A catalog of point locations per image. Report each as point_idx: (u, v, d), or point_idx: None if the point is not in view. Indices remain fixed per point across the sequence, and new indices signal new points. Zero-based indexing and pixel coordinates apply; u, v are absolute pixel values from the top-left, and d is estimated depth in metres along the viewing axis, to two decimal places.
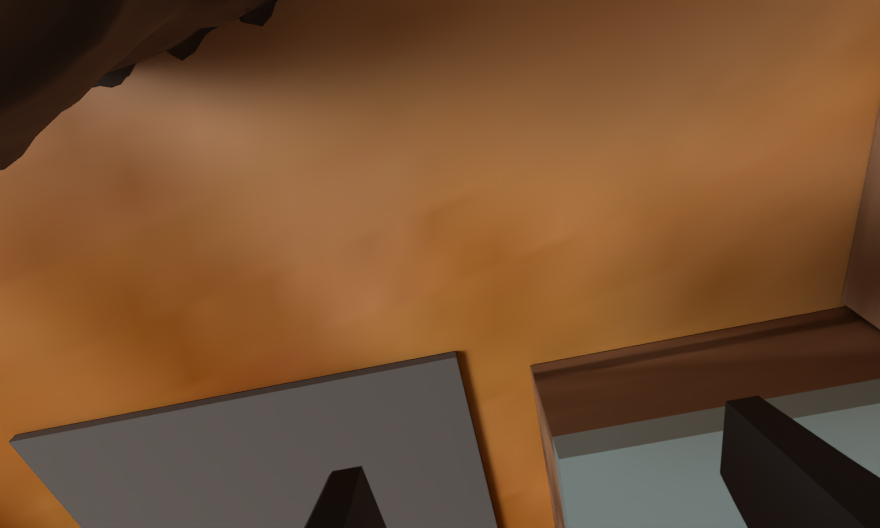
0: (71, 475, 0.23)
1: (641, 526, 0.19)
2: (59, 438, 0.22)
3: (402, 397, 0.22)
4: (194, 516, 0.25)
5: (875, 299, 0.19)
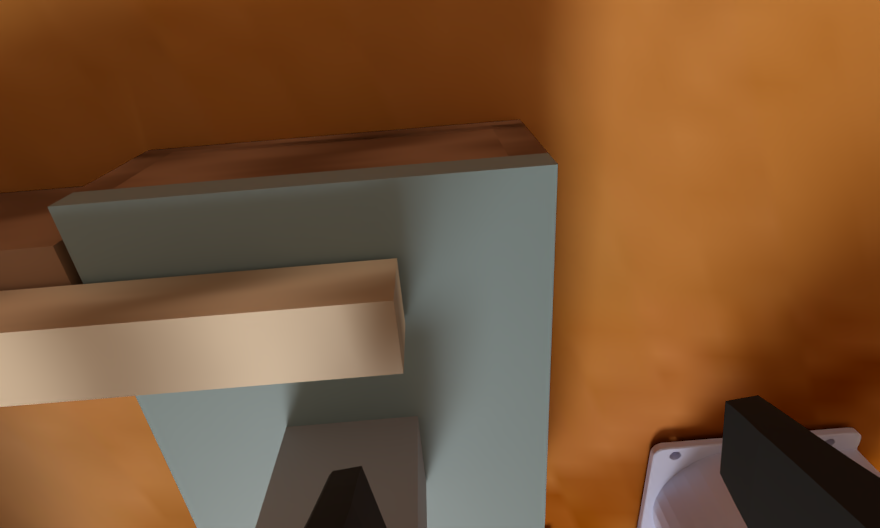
0: None
1: None
2: None
3: None
4: None
5: None
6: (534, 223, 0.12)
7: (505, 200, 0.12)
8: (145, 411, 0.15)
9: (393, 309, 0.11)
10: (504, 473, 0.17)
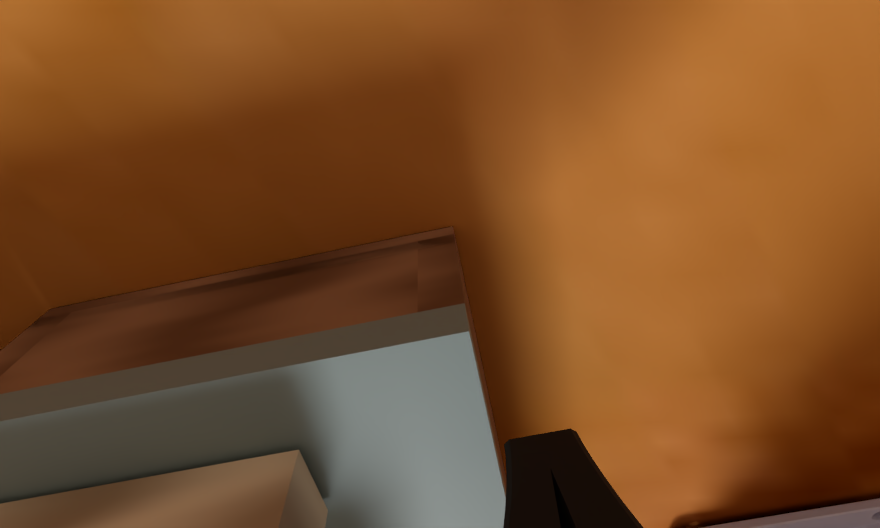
0: None
1: None
2: None
3: None
4: None
5: None
6: (456, 393, 0.10)
7: (414, 374, 0.10)
8: None
9: None
10: None
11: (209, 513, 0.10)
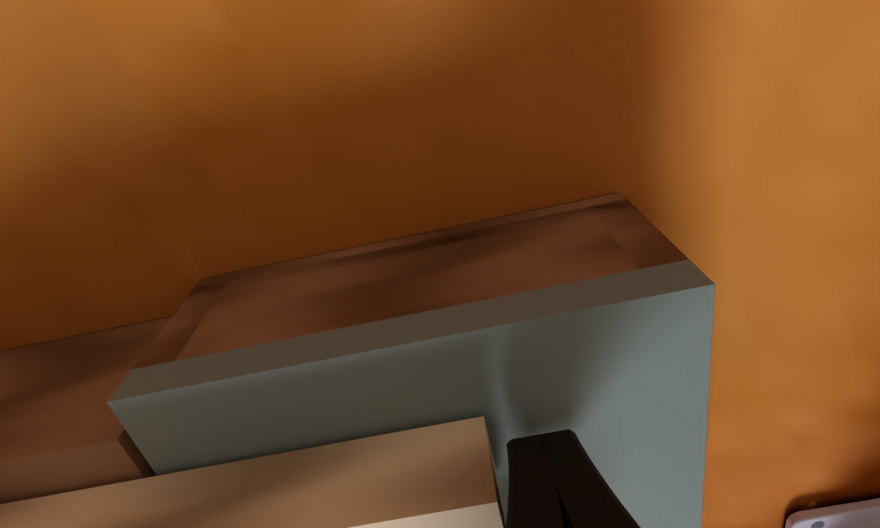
0: None
1: None
2: None
3: None
4: None
5: None
6: (684, 351, 0.10)
7: (647, 331, 0.10)
8: None
9: (498, 511, 0.09)
10: None
11: (411, 478, 0.09)
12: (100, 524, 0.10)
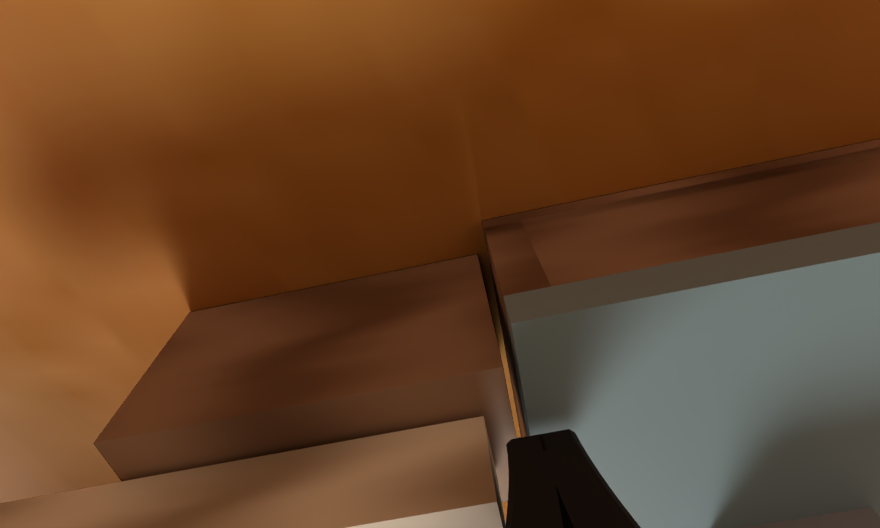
0: None
1: None
2: None
3: None
4: None
5: None
6: None
7: None
8: None
9: (497, 510, 0.09)
10: None
11: (411, 477, 0.09)
12: (99, 523, 0.10)
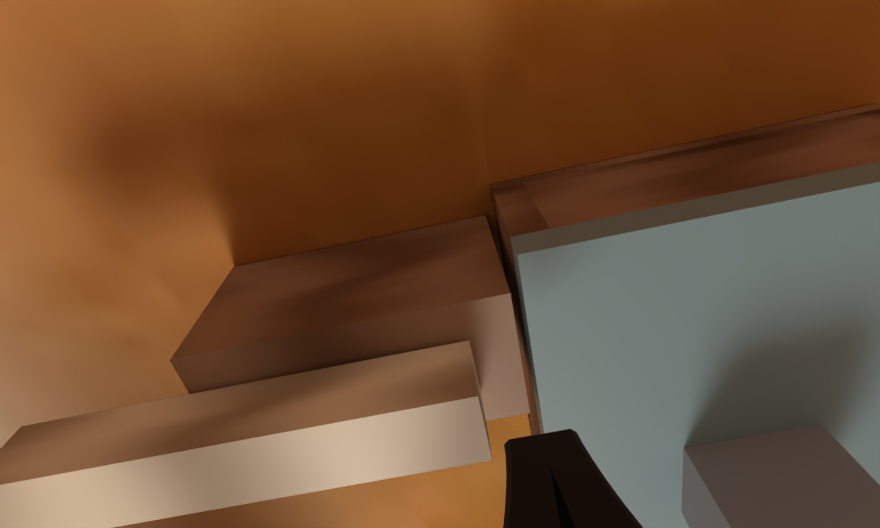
0: None
1: None
2: None
3: None
4: None
5: None
6: None
7: None
8: None
9: (478, 404, 0.11)
10: None
11: (410, 384, 0.12)
12: (154, 426, 0.12)
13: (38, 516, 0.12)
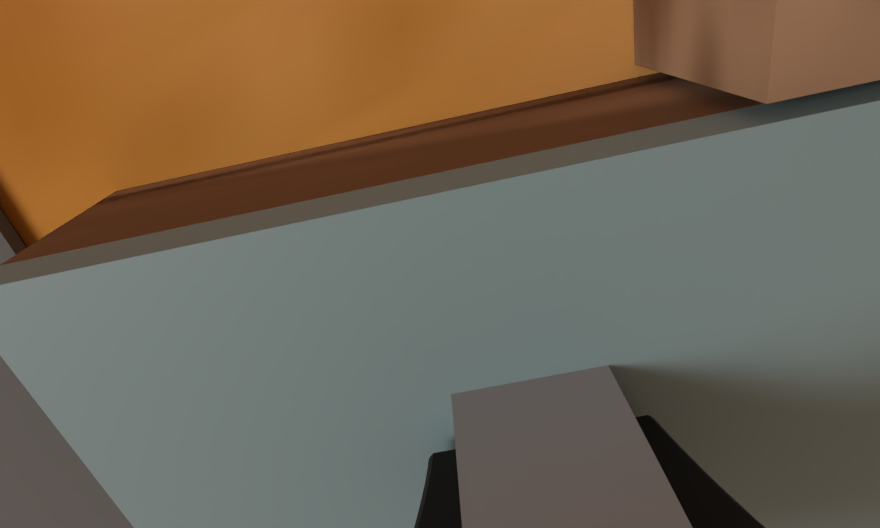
0: None
1: (222, 452, 0.10)
2: None
3: None
4: None
5: (662, 15, 0.10)
6: None
7: None
8: (657, 144, 0.08)
9: None
10: None
11: None
12: None
13: None
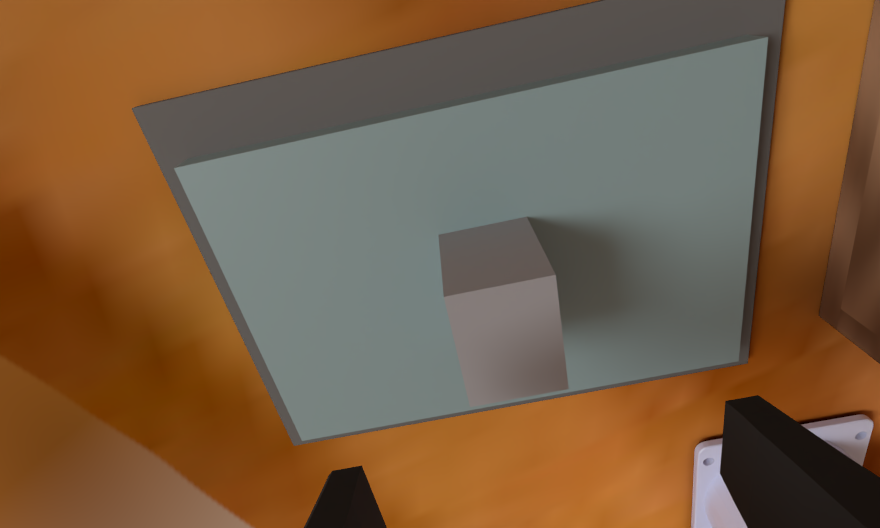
0: None
1: (306, 273, 0.17)
2: (203, 103, 0.16)
3: (693, 38, 0.15)
4: None
5: None
6: (701, 357, 0.20)
7: (719, 340, 0.19)
8: (541, 86, 0.15)
9: None
10: None
11: None
12: None
13: None
